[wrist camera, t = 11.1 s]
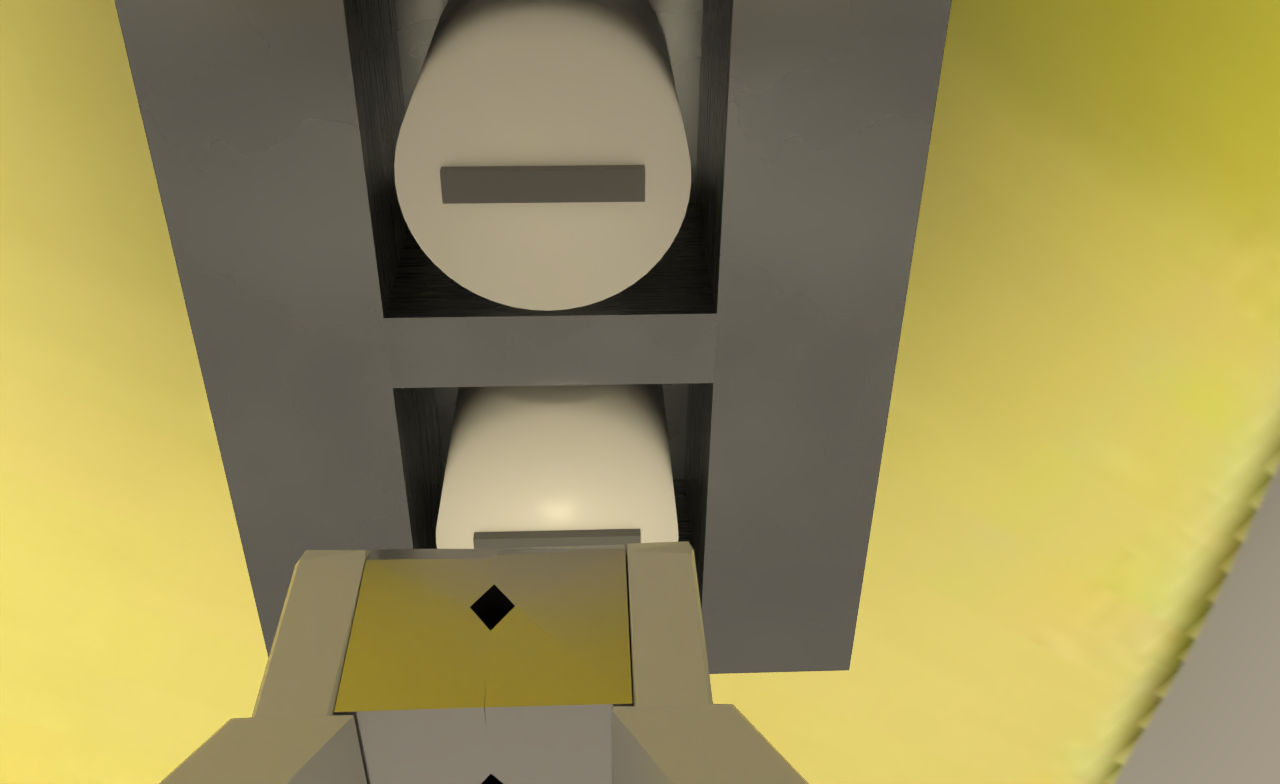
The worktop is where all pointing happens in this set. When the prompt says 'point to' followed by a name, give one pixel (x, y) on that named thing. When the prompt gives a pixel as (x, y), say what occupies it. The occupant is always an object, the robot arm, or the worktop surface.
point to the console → (558, 339)
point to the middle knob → (544, 150)
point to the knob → (557, 468)
